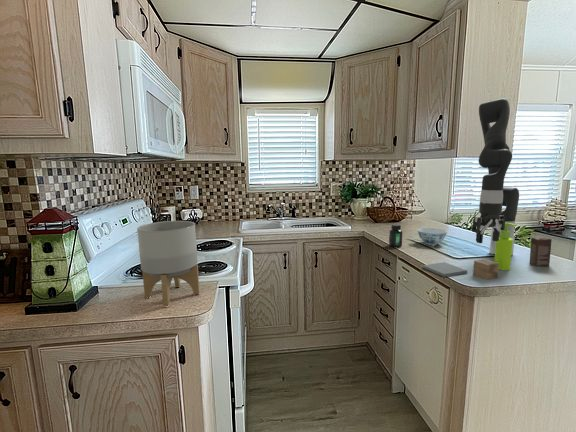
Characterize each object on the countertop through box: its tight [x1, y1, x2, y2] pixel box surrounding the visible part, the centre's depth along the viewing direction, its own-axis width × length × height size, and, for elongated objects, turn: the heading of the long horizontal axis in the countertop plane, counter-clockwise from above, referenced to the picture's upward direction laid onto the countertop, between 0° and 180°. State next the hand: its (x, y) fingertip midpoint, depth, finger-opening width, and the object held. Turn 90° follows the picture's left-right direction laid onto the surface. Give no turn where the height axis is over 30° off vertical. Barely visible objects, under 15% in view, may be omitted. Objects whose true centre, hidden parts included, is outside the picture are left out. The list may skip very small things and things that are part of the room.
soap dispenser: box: [493, 223, 518, 271], centre depth 135 cm, size 6×7×20 cm
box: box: [529, 237, 552, 267], centre depth 139 cm, size 6×4×12 cm
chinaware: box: [417, 227, 448, 246], centre depth 179 cm, size 15×15×8 cm
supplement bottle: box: [388, 223, 403, 249], centre depth 174 cm, size 7×7×12 cm
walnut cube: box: [472, 258, 499, 280], centre depth 127 cm, size 6×6×6 cm
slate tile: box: [422, 261, 468, 278], centre depth 135 cm, size 12×12×1 cm
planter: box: [136, 220, 201, 307], centre depth 112 cm, size 19×19×26 cm
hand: (487, 241), depth 126 cm, fingers open, 8 cm apart
